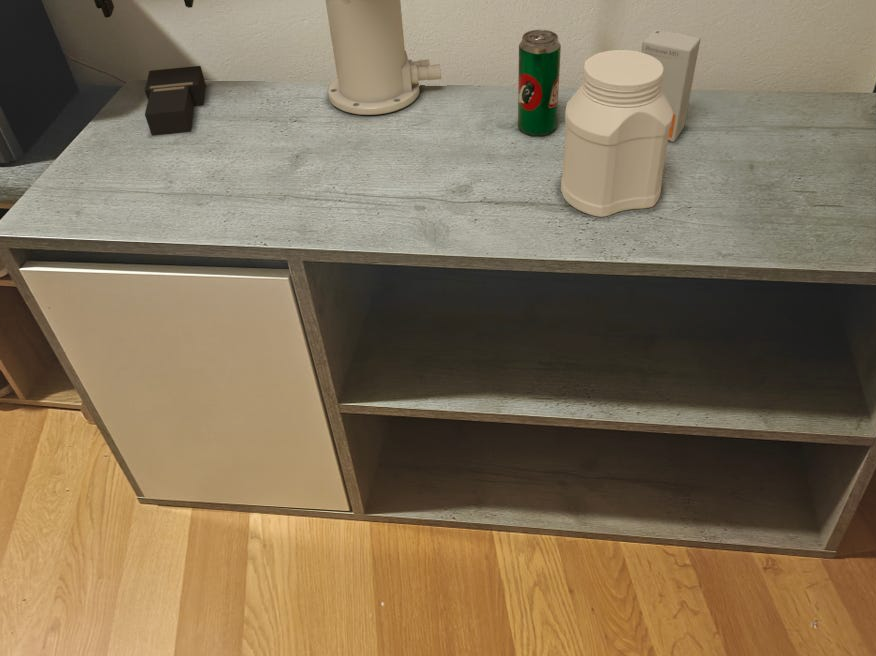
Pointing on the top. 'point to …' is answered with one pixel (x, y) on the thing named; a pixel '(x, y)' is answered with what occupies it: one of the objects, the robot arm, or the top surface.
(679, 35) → the cosmetic box
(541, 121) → the soda can
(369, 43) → the robot arm
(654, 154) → the jar
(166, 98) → the black box
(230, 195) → the top surface
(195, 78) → the charcoal pad
